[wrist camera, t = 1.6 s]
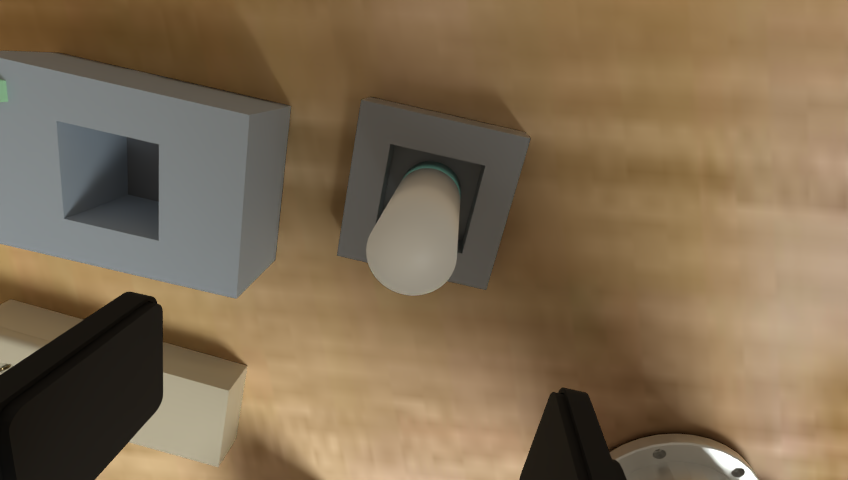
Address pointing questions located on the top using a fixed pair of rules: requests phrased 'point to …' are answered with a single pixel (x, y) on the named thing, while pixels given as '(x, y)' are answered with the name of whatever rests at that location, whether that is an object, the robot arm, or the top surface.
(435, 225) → the plug
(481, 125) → the grey square socket base
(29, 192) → the port block
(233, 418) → the electrical outlet
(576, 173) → the top surface
